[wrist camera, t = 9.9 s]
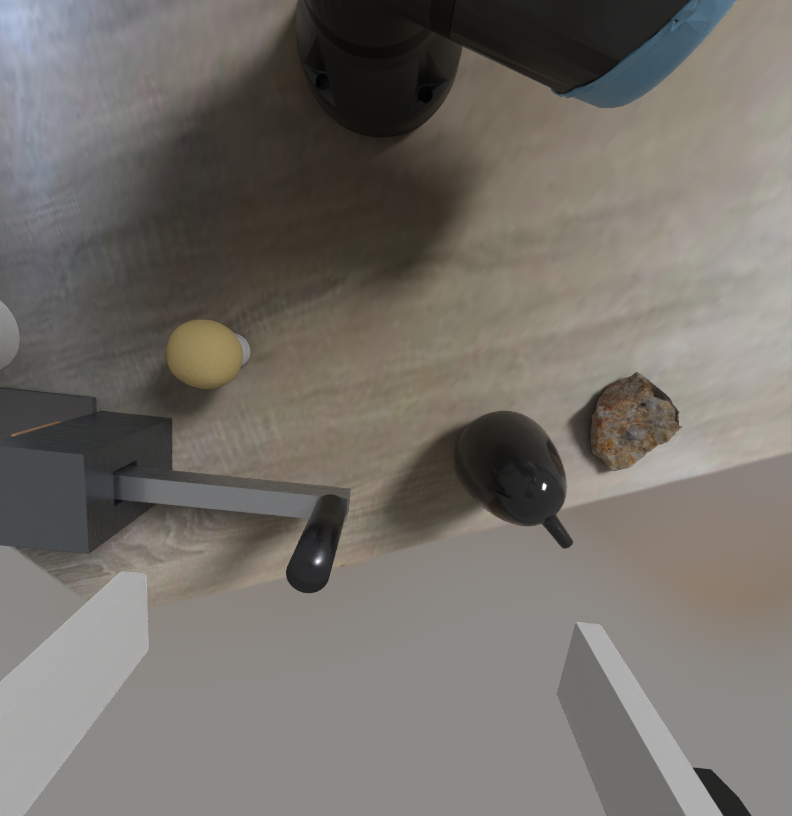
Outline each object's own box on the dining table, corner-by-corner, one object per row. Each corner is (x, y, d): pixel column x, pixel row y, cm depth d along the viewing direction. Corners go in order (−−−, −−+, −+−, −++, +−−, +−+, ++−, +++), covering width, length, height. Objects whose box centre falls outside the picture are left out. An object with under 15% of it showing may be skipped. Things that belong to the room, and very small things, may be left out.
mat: (-9, 386, 44) (-15, 387, 44) (95, 397, 45) (91, 398, 44) (1, 486, 47) (-4, 488, 46) (100, 496, 47) (96, 498, 46)
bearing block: (100, 410, 45) (-16, 444, 32) (171, 418, 45) (83, 454, 32) (104, 485, 47) (-6, 544, 34) (172, 491, 47) (88, 553, 34)
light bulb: (202, 370, 44) (146, 383, 34) (211, 313, 43) (156, 310, 33) (258, 385, 44) (219, 402, 35) (269, 328, 43) (232, 329, 33)
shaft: (56, 455, 39) (-98, 514, 27) (350, 485, 40) (330, 556, 27) (58, 484, 40) (-92, 554, 27) (348, 513, 40) (327, 594, 28)
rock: (614, 362, 44) (565, 437, 44) (665, 367, 39) (608, 452, 38) (655, 404, 47) (610, 473, 47) (707, 413, 42) (655, 492, 42)
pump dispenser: (482, 505, 47) (521, 588, 32) (432, 438, 46) (449, 492, 31) (555, 457, 46) (631, 520, 31) (506, 386, 44) (561, 416, 29)
